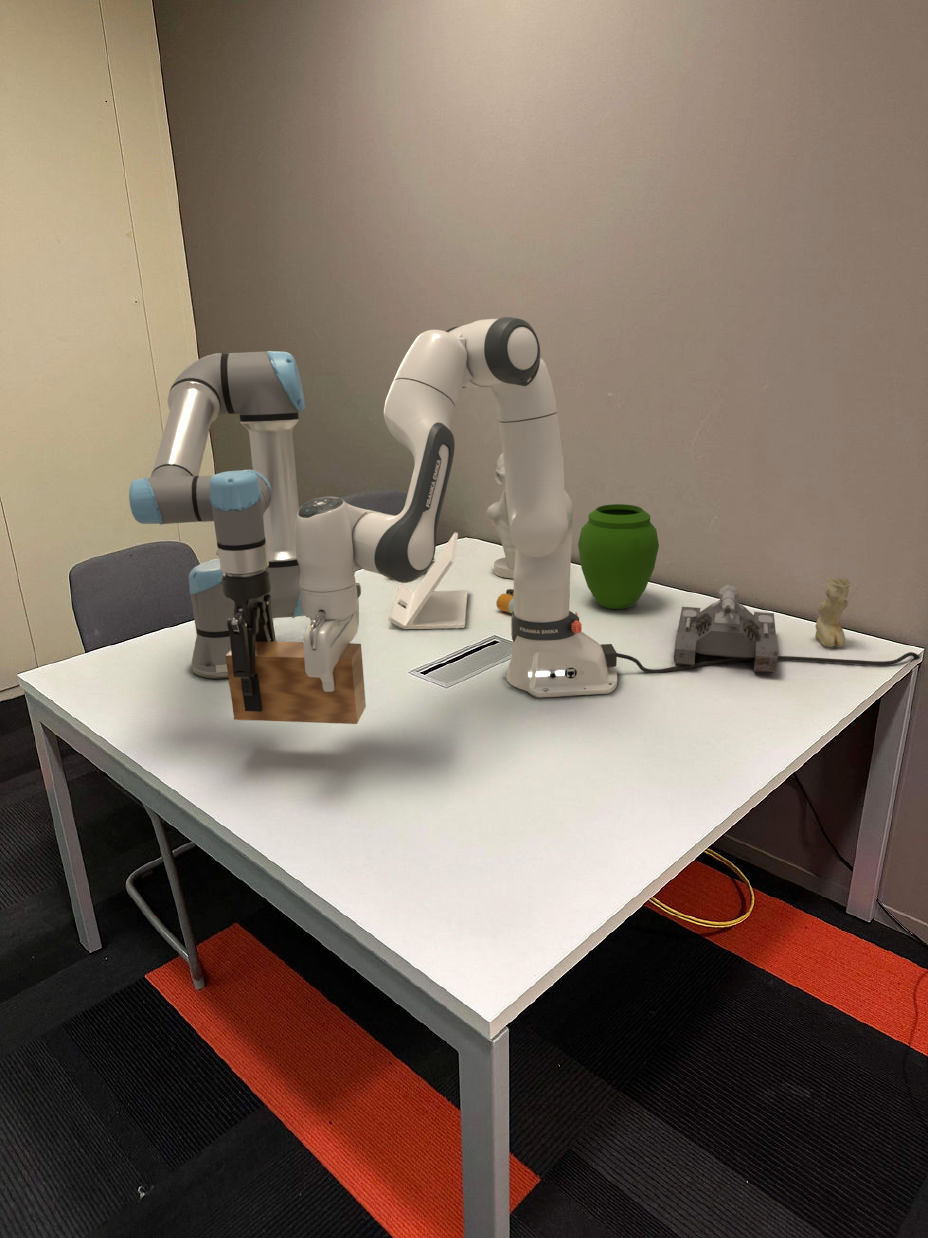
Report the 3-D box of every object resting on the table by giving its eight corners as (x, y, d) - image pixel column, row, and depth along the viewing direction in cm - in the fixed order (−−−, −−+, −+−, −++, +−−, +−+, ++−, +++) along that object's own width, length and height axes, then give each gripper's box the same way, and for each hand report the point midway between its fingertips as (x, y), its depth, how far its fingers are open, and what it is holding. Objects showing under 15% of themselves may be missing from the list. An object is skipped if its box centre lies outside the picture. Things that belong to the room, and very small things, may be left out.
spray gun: (511, 596, 225) (566, 604, 219) (486, 612, 210) (543, 622, 204) (512, 580, 223) (567, 588, 217) (487, 596, 209) (544, 605, 203)
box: (366, 706, 146) (361, 643, 141) (357, 724, 140) (351, 658, 135) (247, 703, 148) (239, 640, 144) (234, 720, 142) (225, 655, 138)
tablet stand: (467, 593, 225) (465, 531, 219) (465, 628, 202) (462, 559, 196) (399, 594, 226) (395, 532, 220) (388, 629, 203) (384, 560, 197)
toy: (680, 626, 199) (684, 565, 194) (771, 633, 193) (778, 570, 188) (673, 669, 176) (677, 601, 171) (775, 679, 171) (783, 608, 165)
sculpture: (821, 649, 184) (830, 583, 179) (808, 637, 191) (816, 573, 185) (848, 649, 184) (858, 582, 179) (834, 636, 191) (843, 572, 185)
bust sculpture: (503, 593, 225) (502, 460, 212) (483, 567, 247) (480, 445, 234) (562, 587, 228) (563, 456, 215) (536, 562, 250) (536, 441, 237)
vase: (599, 587, 227) (601, 497, 218) (668, 600, 216) (673, 505, 208) (562, 608, 212) (564, 513, 204) (634, 623, 202) (639, 523, 193)
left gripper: (244, 552, 145) (259, 676, 153) (197, 589, 127) (217, 727, 135) (286, 553, 144) (299, 677, 152) (245, 590, 126) (263, 728, 135)
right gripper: (331, 624, 126) (338, 708, 131) (363, 581, 145) (368, 656, 150) (289, 623, 127) (298, 707, 132) (327, 580, 146) (333, 655, 151)
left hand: (261, 700), depth 144 cm, fingers closed on box, 6 cm apart
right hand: (336, 679), depth 141 cm, fingers closed on box, 6 cm apart
